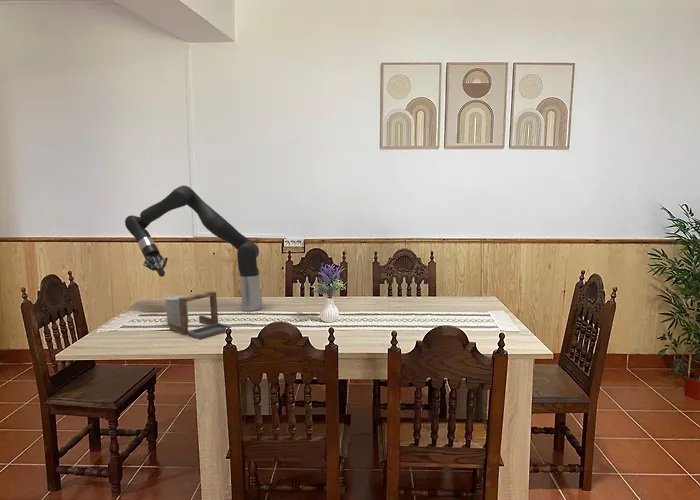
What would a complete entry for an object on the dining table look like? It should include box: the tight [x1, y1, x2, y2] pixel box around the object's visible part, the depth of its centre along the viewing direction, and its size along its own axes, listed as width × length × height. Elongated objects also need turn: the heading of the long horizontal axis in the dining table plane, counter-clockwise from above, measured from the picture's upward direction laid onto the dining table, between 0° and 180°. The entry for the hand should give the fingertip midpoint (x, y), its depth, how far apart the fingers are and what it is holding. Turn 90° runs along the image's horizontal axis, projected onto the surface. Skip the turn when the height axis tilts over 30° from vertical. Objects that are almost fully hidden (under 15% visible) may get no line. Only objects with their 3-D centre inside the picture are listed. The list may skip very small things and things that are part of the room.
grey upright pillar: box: [164, 294, 190, 326], centre depth 290 cm, size 10×10×12 cm
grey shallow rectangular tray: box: [187, 322, 232, 340], centre depth 273 cm, size 16×9×2 cm, turn 136°
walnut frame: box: [168, 290, 219, 336], centre depth 280 cm, size 17×13×16 cm
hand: (162, 275), depth 305 cm, fingers closed
